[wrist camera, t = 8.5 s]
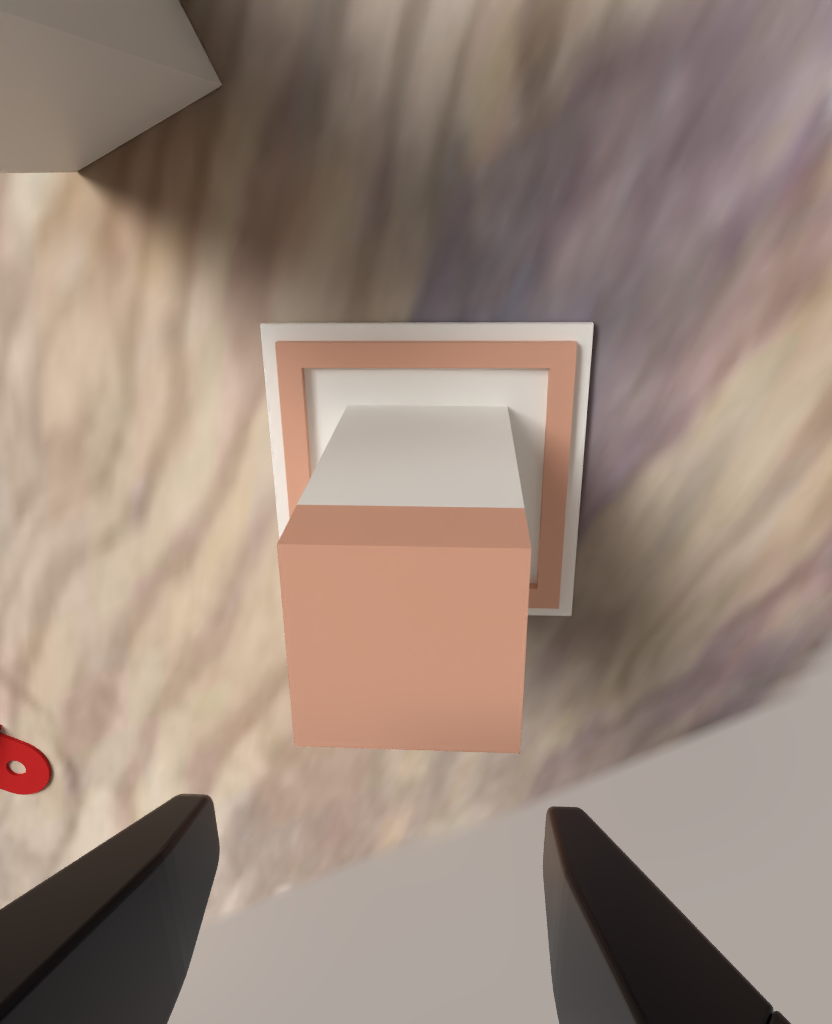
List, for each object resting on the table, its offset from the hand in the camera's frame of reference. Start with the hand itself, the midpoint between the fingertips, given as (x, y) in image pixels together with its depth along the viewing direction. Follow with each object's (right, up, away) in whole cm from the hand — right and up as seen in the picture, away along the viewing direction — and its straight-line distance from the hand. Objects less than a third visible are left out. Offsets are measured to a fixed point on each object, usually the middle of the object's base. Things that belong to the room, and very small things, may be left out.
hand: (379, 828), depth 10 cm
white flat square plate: (+1, +5, +11) cm, 12 cm away
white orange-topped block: (+1, +5, +11) cm, 12 cm away
